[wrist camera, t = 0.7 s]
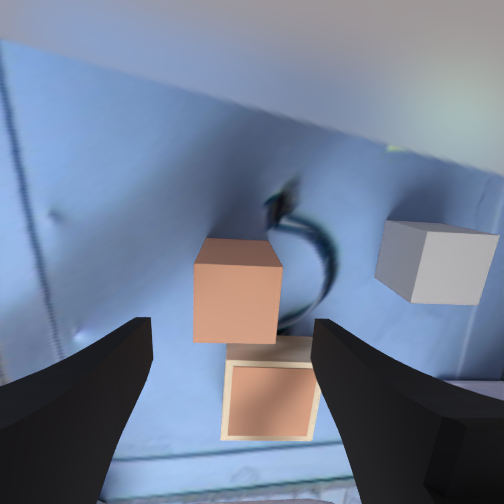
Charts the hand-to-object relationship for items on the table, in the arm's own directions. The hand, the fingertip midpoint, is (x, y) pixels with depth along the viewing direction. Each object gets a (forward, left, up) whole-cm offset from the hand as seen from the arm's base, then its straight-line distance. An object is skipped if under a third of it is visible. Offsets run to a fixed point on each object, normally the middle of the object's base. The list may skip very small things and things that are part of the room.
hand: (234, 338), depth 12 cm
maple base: (-3, +9, -9) cm, 13 cm away
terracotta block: (0, 0, -8) cm, 9 cm away
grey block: (-13, -2, -9) cm, 16 cm away
